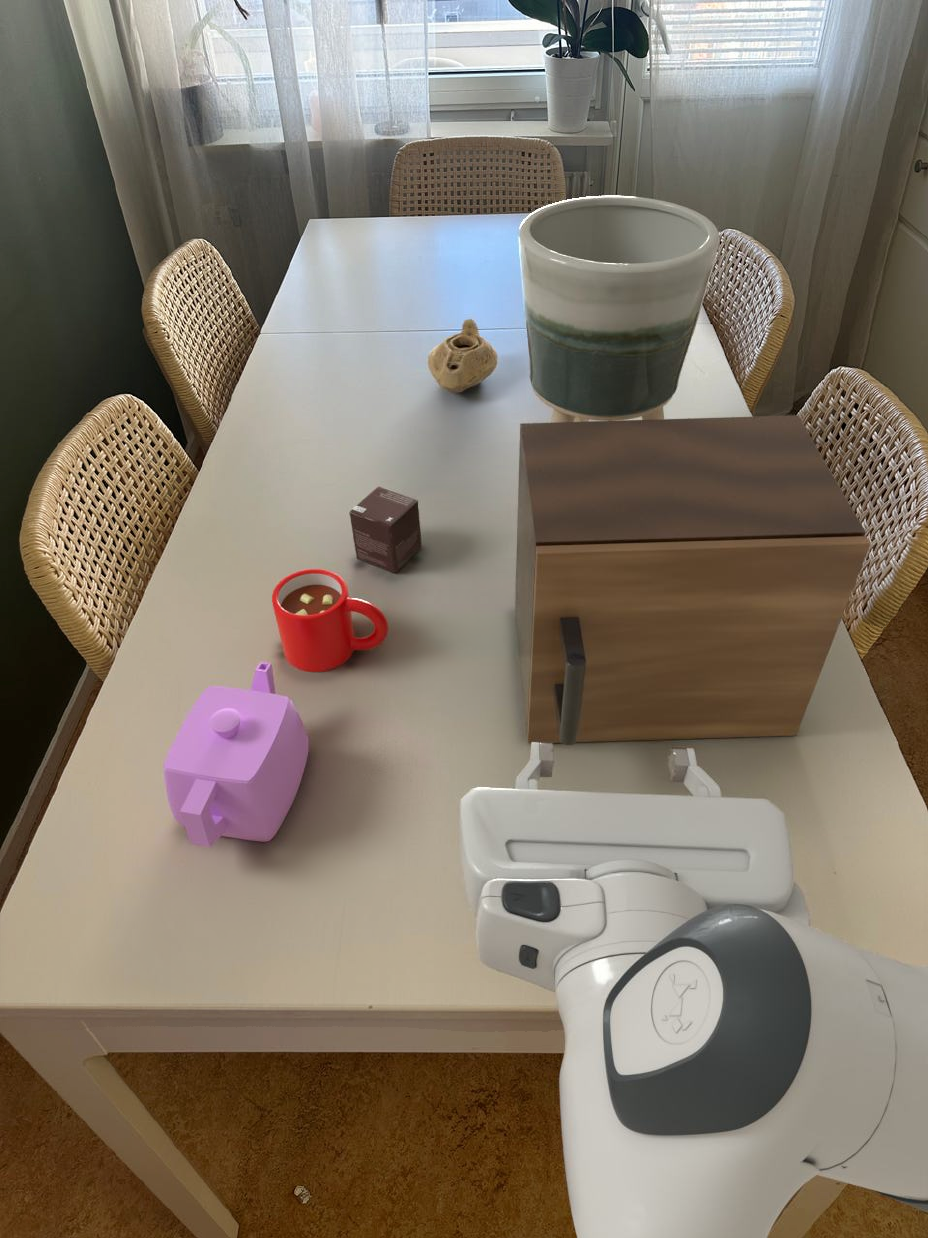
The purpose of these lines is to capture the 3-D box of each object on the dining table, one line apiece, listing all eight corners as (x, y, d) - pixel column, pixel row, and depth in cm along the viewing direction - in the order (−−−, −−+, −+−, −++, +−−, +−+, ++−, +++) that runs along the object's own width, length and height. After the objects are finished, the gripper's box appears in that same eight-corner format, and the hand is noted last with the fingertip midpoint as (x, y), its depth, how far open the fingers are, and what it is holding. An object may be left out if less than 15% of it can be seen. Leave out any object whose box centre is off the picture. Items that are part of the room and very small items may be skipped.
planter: (708, 502, 113) (763, 243, 90) (564, 550, 107) (584, 283, 84) (617, 424, 127) (645, 183, 104) (485, 462, 121) (484, 214, 98)
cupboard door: (815, 784, 81) (899, 592, 64) (532, 793, 81) (543, 603, 64) (793, 727, 86) (866, 535, 69) (526, 736, 86) (536, 545, 69)
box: (423, 548, 107) (420, 499, 102) (395, 575, 104) (390, 526, 99) (383, 532, 110) (378, 484, 105) (354, 558, 106) (347, 510, 101)
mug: (384, 678, 92) (378, 624, 86) (275, 668, 93) (261, 615, 88) (398, 626, 97) (392, 573, 92) (294, 618, 99) (283, 565, 93)
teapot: (233, 705, 89) (211, 635, 82) (330, 720, 88) (316, 649, 81) (154, 858, 77) (121, 791, 70) (267, 878, 75) (244, 811, 68)
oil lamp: (426, 407, 132) (423, 359, 126) (430, 361, 143) (427, 314, 137) (498, 407, 132) (498, 358, 126) (496, 360, 143) (497, 313, 137)
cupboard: (792, 726, 86) (866, 532, 69) (526, 734, 86) (535, 542, 69) (745, 603, 99) (798, 414, 82) (514, 610, 99) (520, 423, 82)
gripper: (835, 921, 46) (776, 725, 57) (453, 904, 47) (463, 713, 57) (803, 977, 50) (753, 785, 61) (452, 961, 51) (462, 774, 61)
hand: (610, 750), depth 59 cm, fingers open, 8 cm apart
